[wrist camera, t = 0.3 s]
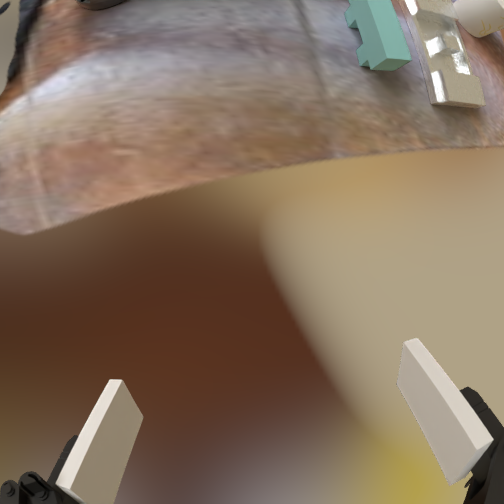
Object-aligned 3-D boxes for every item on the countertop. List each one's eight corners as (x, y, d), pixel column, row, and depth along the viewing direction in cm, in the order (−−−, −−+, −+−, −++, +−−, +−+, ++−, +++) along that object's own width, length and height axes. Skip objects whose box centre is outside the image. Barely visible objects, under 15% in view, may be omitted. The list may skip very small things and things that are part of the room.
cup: (470, 39, 27) (511, 23, 16) (445, 2, 25) (482, -21, 14) (489, 35, 26) (528, 21, 14) (467, 0, 24) (501, -19, 12)
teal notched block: (341, 6, 28) (358, -21, 20) (362, 8, 27) (382, -17, 20) (362, 75, 31) (386, 58, 23) (384, 76, 31) (411, 60, 23)
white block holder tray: (395, -5, 26) (405, -16, 22) (441, 6, 25) (452, -2, 22) (430, 104, 32) (445, 100, 28) (473, 108, 31) (488, 106, 27)
